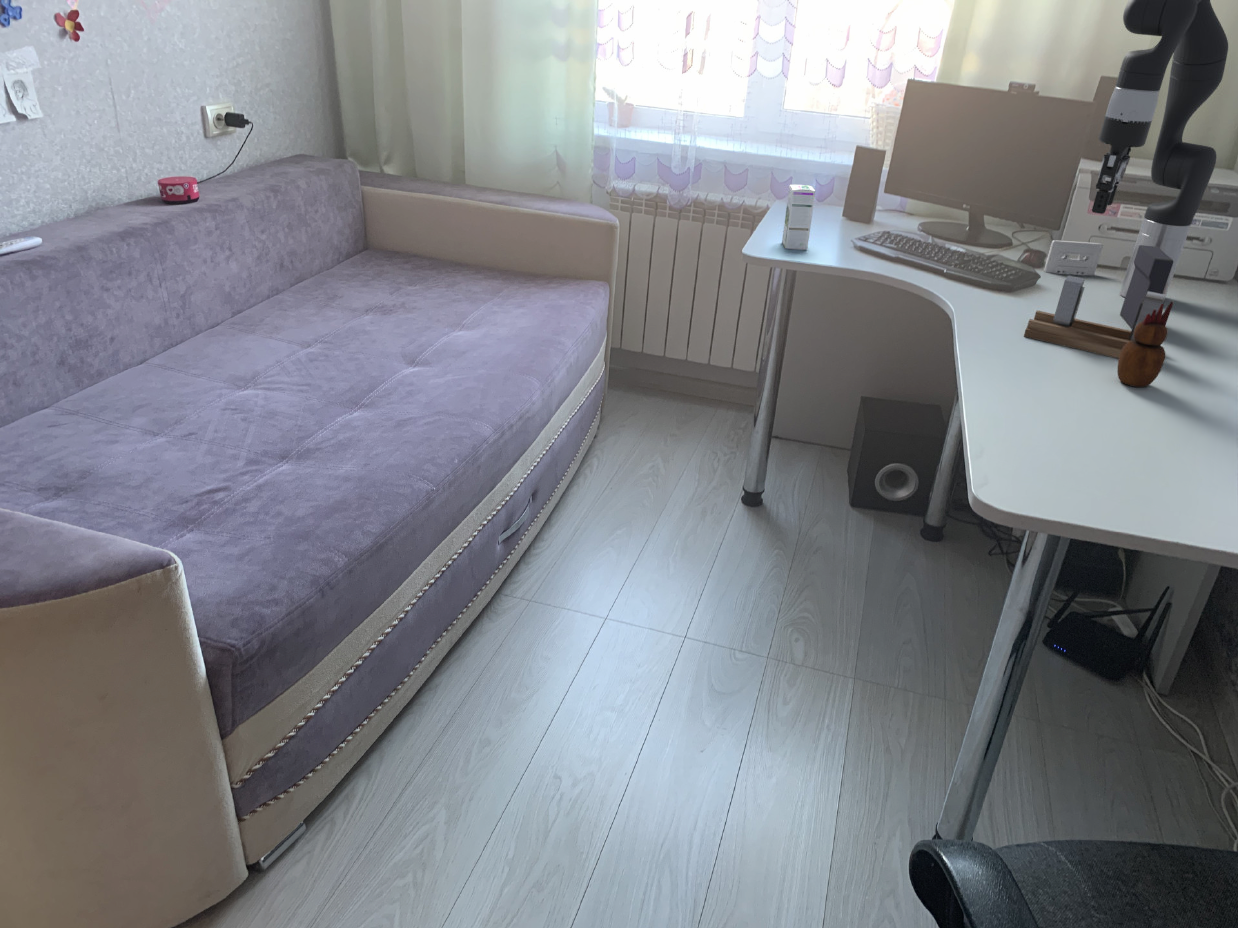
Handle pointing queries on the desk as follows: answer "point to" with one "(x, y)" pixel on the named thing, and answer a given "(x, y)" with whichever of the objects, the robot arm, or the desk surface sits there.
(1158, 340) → the wooden figurine
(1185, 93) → the robot arm
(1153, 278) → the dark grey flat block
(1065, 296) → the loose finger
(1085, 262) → the cassette
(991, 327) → the desk surface
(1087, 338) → the rail
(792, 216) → the syrup box
